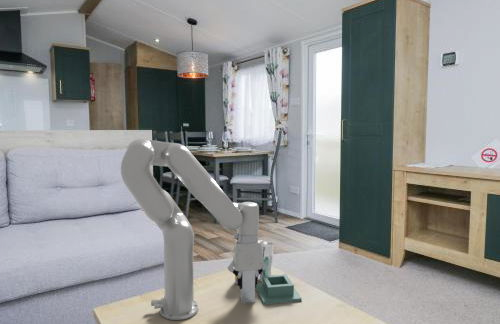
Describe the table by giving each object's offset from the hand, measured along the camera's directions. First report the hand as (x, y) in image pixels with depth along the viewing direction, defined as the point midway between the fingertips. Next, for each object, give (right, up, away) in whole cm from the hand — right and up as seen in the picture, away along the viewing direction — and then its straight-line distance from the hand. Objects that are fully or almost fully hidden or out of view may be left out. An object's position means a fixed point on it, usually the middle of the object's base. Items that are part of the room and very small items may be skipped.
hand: (247, 286), depth 128 cm
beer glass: (+7, -3, +18) cm, 20 cm away
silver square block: (0, -5, +1) cm, 5 cm away
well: (+11, -5, +6) cm, 13 cm away
